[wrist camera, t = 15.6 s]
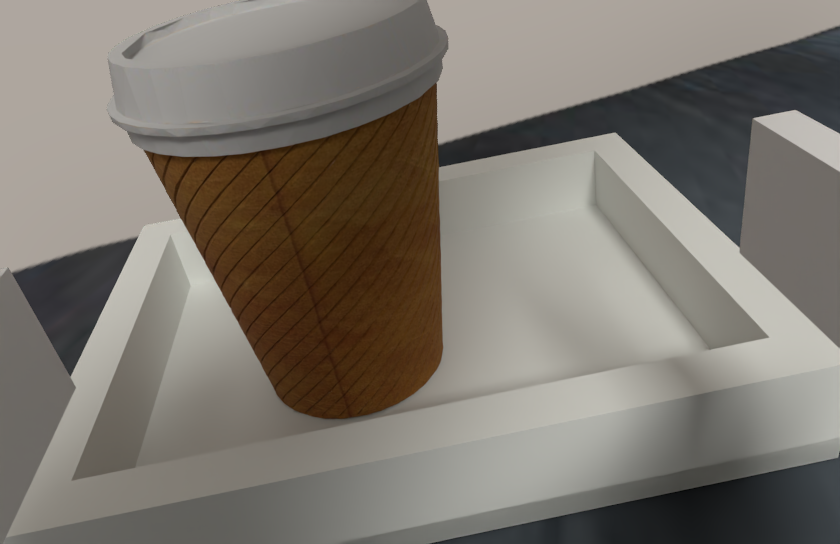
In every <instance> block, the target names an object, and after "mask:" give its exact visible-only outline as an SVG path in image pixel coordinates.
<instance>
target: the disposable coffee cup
mask: <svg viewBox="0 0 840 544" xmlns="http://www.w3.org/2000/svg"><path fill="white" fill-rule="evenodd" d="M447 50H448V36H447V34H446V32H445V30H443V29H442V28H441V27H439V26H437V25H435V22H434V19H433V17H432V14H431V11H430V8H429V6H428V3H427V0H239V1H235V2H231V3H227V4H223V5H219V6H215V7H211V8H207V9H204V10H201V11H197V12H194V13H190V14H187V15H184V16H181V17H177V18H175V19H172V20H169V21H167V22H164V23H161V24H158V25H156V26H153V27H151V28H149V29H147V30H144V31H142V32H140V33H138V34H135V35H133V36H131V37H129V38H127V39H125V40H124V41H122V42H121V43H119V44H118V45H116V46H115V47H114V48H113V49H112V50H111V51H110V52H109V53H108V63H109V69H110V75H111V81H112V87H113V92H114V95H113V97H112V99H111V100H110V102H109V103H108V106H107V111H108V114H109V116H110V117H111V120H112V122H113V123H115V124H116V125H118V126H119V127H121V128H122V129H124V130H125V131H127V132H128V135H129V137H130V139H131V141H132V143H134V144H135V145H137V146H138V147H140V148H142V149H143V150H144V151H145V153H146V155H147V156H148V158H149V160H150V162H151V164H152V165H153V167H154V169H155V171H156V173H157V175H158V177H159V178H160V180H161V182H162V184H163V185H164V187H165V189H166V192H167V194H168V195H169V197H170V199H171V201H172V202H173V204H174V206H175V208H176V209H177V212H178V214H179V216H180V218H181V220H182V221H183V223H184V225H185V227H186V229H187V230H188V232H189V234H190V236H191V237H192V239H193V241H194V243H195V244H196V247H197V249H198V250H199V252H200V254H201V256H202V257H203V259H204V261H205V264H206V265H207V267H208V269H209V270H210V272H211V274H212V276H213V277H214V280H215V282H216V283H217V285H218V287H219V289H220V290H221V292H222V295H223V296H224V298H225V300H226V302H227V303H228V305H229V307H230V308H231V311H232V313H233V315H234V316H235V318H236V320H237V321H238V323H239V326H240V327H241V329H242V331H243V333H244V334H245V336H246V337H247V340H248V342H249V344H250V345H251V347H252V349H253V351H254V353H255V355H256V357H257V358H258V360H259V362H260V363H261V366H262V368H263V370H264V372H265V373H266V375H267V377H268V378H269V380H270V382H271V384H272V386H273V388H274V390H275V392H276V394H277V396H278V397H279V398H280V399H281V400H282V402H283V403H284V404H286V405H287V406H289V407H290V408H292V409H293V410H295V411H297V412H300V413H303V414H306V415H309V416H312V417H318V418H324V419H346V418H352V417H358V416H364V415H369V414H372V413H376V412H379V411H382V410H384V409H387V408H389V407H391V406H394V405H396V404H398V403H400V402H402V401H403V400H405V399H406V398H408V397H410V396H411V395H413V394H414V393H415V392H417V391H418V390H419V389H420V388H421V387H423V386H424V385H425V384H426V383H427V382H428V380H429V379H430V378H431V376H432V375H433V374H434V373H435V371H436V370H437V368H438V366H439V364H440V362H441V358H442V352H443V332H442V294H441V291H442V284H441V246H440V238H441V237H440V214H439V160H438V139H437V131H438V130H437V128H438V127H437V126H438V125H437V124H438V123H437V84H436V82H437V81H438V80H439V77H440V74H441V72H442V69H443V67H442V58H443V57H444V55H445V53H446V51H447Z"/></svg>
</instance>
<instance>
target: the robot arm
mask: <svg viewBox="0 0 840 544" xmlns="http://www.w3.org/2000/svg"><path fill="white" fill-rule="evenodd" d="M739 253H740V254H741V255H742V256H743V257H744V258H745V259H746V260H747V261H749V262H750V263H751V264H752V265H753V266H754V267H755V268H756V269H757V270H758V271H759V272H760V273H761V274H762V275H763V276H764V277H765V278H766V279H767V280H768V281H769V282H771V283H772V284H773V285H774V286H775V287H776V288H777V289H778V290H779V291H780V292H781V293H782V294H783V295H784V296H785V297H786V298H787V299H788V300H789V301H790V302H791V303H792V304H794V305H795V306H796V307H797V308H798V309H799V310H800V311H801V312H802V313H803V314H804V315H805V316H806V317H807V318H808V319H809V320H810V321H811V322H812V323H813V324H814V325H815V326H817V327H818V328H819V329H820V330H821V331H822V332H823V333H824V334H825V335H826V336H827V337H828V338H829V339H830V340H831V341H832V342H833V343H834V344H835V345H836V346H837V347H839V348H840V134H839V133H837V132H835V131H833V130H832V129H830V128H828V127H826V126H824V125H822V124H820V123H819V122H817V121H815V120H813V119H811V118H809V117H807V116H806V115H804V114H802V113H800V112H798V111H796V110H792V111H787V112H782V113H777V114H772V115H767V116H762V117H757V118H753V119H752V129H751V139H750V150H749V160H748V170H747V180H746V191H745V201H744V211H743V221H742V231H741V242H740V252H739ZM75 389H76V386H75V385H74V383H73V381H72V379H71V378H70V376H69V374H68V372H67V371H66V369H65V367H64V365H63V363H62V362H61V360H60V358H59V356H58V355H57V353H56V351H55V349H54V348H53V346H52V344H51V342H50V340H49V339H48V337H47V335H46V333H45V332H44V330H43V328H42V326H41V325H40V323H39V321H38V319H37V318H36V316H35V314H34V312H33V310H32V309H31V307H30V305H29V303H28V302H27V300H26V298H25V296H24V295H23V293H22V291H21V289H20V287H19V286H18V284H17V282H16V280H15V279H14V277H13V275H12V273H11V272H10V270H9V268H8V267H7V268H2V269H0V544H3V543H4V540H5V538H6V536H7V534H8V532H9V530H10V528H11V525H12V523H13V521H14V519H15V517H16V515H17V513H18V510H19V508H20V506H21V504H22V502H23V500H24V498H25V496H26V493H27V491H28V489H29V487H30V485H31V483H32V481H33V478H34V476H35V474H36V472H37V470H38V468H39V466H40V464H41V461H42V459H43V457H44V455H45V453H46V451H47V449H48V446H49V444H50V442H51V440H52V438H53V436H54V434H55V432H56V429H57V427H58V425H59V423H60V421H61V419H62V417H63V414H64V412H65V410H66V408H67V406H68V404H69V402H70V399H71V397H72V395H73V393H74V391H75Z"/></svg>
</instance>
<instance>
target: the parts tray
mask: <svg viewBox="0 0 840 544" xmlns="http://www.w3.org/2000/svg"><path fill="white" fill-rule="evenodd" d="M439 214H440V237H441V238H440V246H441V284H442V291H441V294H442V332H443V352H442V358H441V362H440V364H439V366H438V368H437V370H436V371H435V373H434V374H433V375H432V376H431V378H430V379H429V380H428V382H427V383H426V384H425V385H424V386H423V387H421V388H420V389H419V390H418V391H417V392H415V393H414V394H413V395H411V396H410V397H408V398H406V399H405V400H403V401H402V402H400V403H398V404H396V405H394V406H391V407H389V408H387V409H384V410H382V411H379V412H376V413H372V414H369V415H364V416H358V417H352V418H346V419H324V418H318V417H312V416H309V415H306V414H303V413H300V412H297V411H295V410H293V409H292V408H290V407H289V406H287V405H286V404H284V403H283V402H282V400H281V399H280V398H279V397H278V396H277V394H276V392H275V390H274V388H273V386H272V384H271V382H270V380H269V378H268V377H267V375H266V373H265V372H264V370H263V368H262V366H261V363H260V362H259V360H258V358H257V357H256V355H255V353H254V351H253V349H252V347H251V345H250V344H249V342H248V340H247V337H246V336H245V334H244V333H243V331H242V329H241V327H240V326H239V323H238V321H237V320H236V318H235V316H234V315H233V313H232V311H231V308H230V307H229V305H228V303H227V302H226V300H225V298H224V296H223V295H222V292H221V290H220V289H219V287H218V285H217V283H216V282H215V280H214V277H213V276H212V274H211V272H210V270H209V269H208V267H207V265H206V264H205V261H204V259H203V257H202V256H201V254H200V252H199V250H198V249H197V247H196V244H195V243H194V241H193V239H192V237H191V236H190V234H189V232H188V230H187V229H186V227H185V225H184V223H183V221H182V220H181V218H180V219H175V220H171V221H165V222H160V223H156V224H150V225H145V226H144V227H143V229H142V231H141V233H140V235H139V237H138V239H137V241H136V243H135V245H134V247H133V249H132V251H131V253H130V256H129V258H128V260H127V262H126V264H125V266H124V268H123V270H122V272H121V274H120V276H119V278H118V280H117V282H116V284H115V287H114V289H113V291H112V293H111V295H110V297H109V299H108V301H107V303H106V305H105V307H104V309H103V311H102V313H101V315H100V318H99V320H98V322H97V324H96V326H95V328H94V330H93V332H92V334H91V336H90V338H89V340H88V342H87V344H86V346H85V349H84V351H83V353H82V355H81V357H80V359H79V361H78V363H77V365H76V367H75V369H74V371H73V373H72V375H71V377H70V378H71V379H72V381H73V383H74V385H75V386H76V389H75V391H74V393H73V395H72V397H71V399H70V402H69V404H68V406H67V408H66V410H65V412H64V414H63V417H62V419H61V421H60V423H59V425H58V427H57V429H56V432H55V434H54V436H53V438H52V440H51V442H50V444H49V446H48V449H47V451H46V453H45V455H44V457H43V459H42V461H41V464H40V466H39V468H38V470H37V472H36V474H35V476H34V478H33V481H32V483H31V485H30V487H29V489H28V491H27V493H26V496H25V498H24V500H23V502H22V504H21V506H20V508H19V510H18V513H17V515H16V517H15V519H14V521H13V523H12V525H11V528H10V530H9V532H8V534H7V536H6V538H5V540H4V543H3V544H429V543H434V542H438V541H443V540H448V539H453V538H457V537H462V536H467V535H472V534H477V533H481V532H486V531H491V530H496V529H500V528H505V527H510V526H515V525H519V524H524V523H529V522H534V521H539V520H543V519H548V518H553V517H558V516H562V515H567V514H572V513H577V512H581V511H586V510H591V509H596V508H600V507H605V506H610V505H615V504H620V503H624V502H629V501H634V500H639V499H643V498H648V497H653V496H658V495H662V494H667V493H672V492H677V491H682V490H686V489H691V488H696V487H701V486H705V485H710V484H715V483H720V482H724V481H729V480H734V479H739V478H744V477H748V476H753V475H758V474H763V473H767V472H772V471H777V470H782V469H786V468H791V467H796V466H801V465H805V464H810V463H815V462H820V461H825V460H829V459H834V458H838V456H839V451H840V348H839V347H837V346H836V345H835V344H834V343H833V342H832V341H831V340H830V339H829V338H828V337H827V336H826V335H825V334H824V333H823V332H822V331H821V330H820V329H819V328H818V327H817V326H815V325H814V324H813V323H812V322H811V321H810V320H809V319H808V318H807V317H806V316H805V315H804V314H803V313H802V312H801V311H800V310H799V309H798V308H797V307H796V306H795V305H794V304H792V303H791V302H790V301H789V300H788V299H787V298H786V297H785V296H784V295H783V294H782V293H781V292H780V291H779V290H778V289H777V288H776V287H775V286H774V285H773V284H772V283H771V282H769V281H768V280H767V279H766V278H765V277H764V276H763V275H762V274H761V273H760V272H759V271H758V270H757V269H756V268H755V267H754V266H753V265H752V264H751V263H750V262H749V261H747V260H746V259H745V258H744V257H743V256H742V255H741V254H740V253H739V252H740V248H739V247H738V246H737V245H736V244H734V243H733V242H732V241H731V240H730V239H729V238H728V237H727V236H726V235H725V234H724V233H723V232H722V231H720V230H719V229H718V228H717V227H716V226H715V225H714V224H713V223H712V222H711V221H710V220H709V219H708V218H707V217H705V216H704V215H703V214H702V213H701V212H700V211H699V210H698V209H697V208H696V207H695V206H694V205H693V204H691V203H690V202H689V201H688V200H687V199H686V198H685V197H684V196H683V195H682V194H681V193H680V192H679V191H678V190H676V189H675V188H674V187H673V186H672V185H671V184H670V183H669V182H668V181H667V180H666V179H665V178H664V177H663V176H661V175H660V174H659V173H658V172H657V171H656V170H655V169H654V168H653V167H652V166H651V165H650V164H649V163H647V162H646V161H645V160H644V159H643V158H642V157H641V156H640V155H639V154H638V153H637V152H636V151H635V150H634V149H632V148H631V147H630V146H629V145H628V144H627V143H626V142H625V141H624V140H623V139H622V138H621V137H620V136H618V135H617V134H616V133H611V134H606V135H601V136H595V137H590V138H585V139H580V140H575V141H570V142H565V143H560V144H555V145H550V146H545V147H540V148H535V149H530V150H525V151H519V152H514V153H509V154H504V155H499V156H494V157H489V158H484V159H479V160H474V161H469V162H464V163H459V164H454V165H449V166H444V167H439Z"/></svg>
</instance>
